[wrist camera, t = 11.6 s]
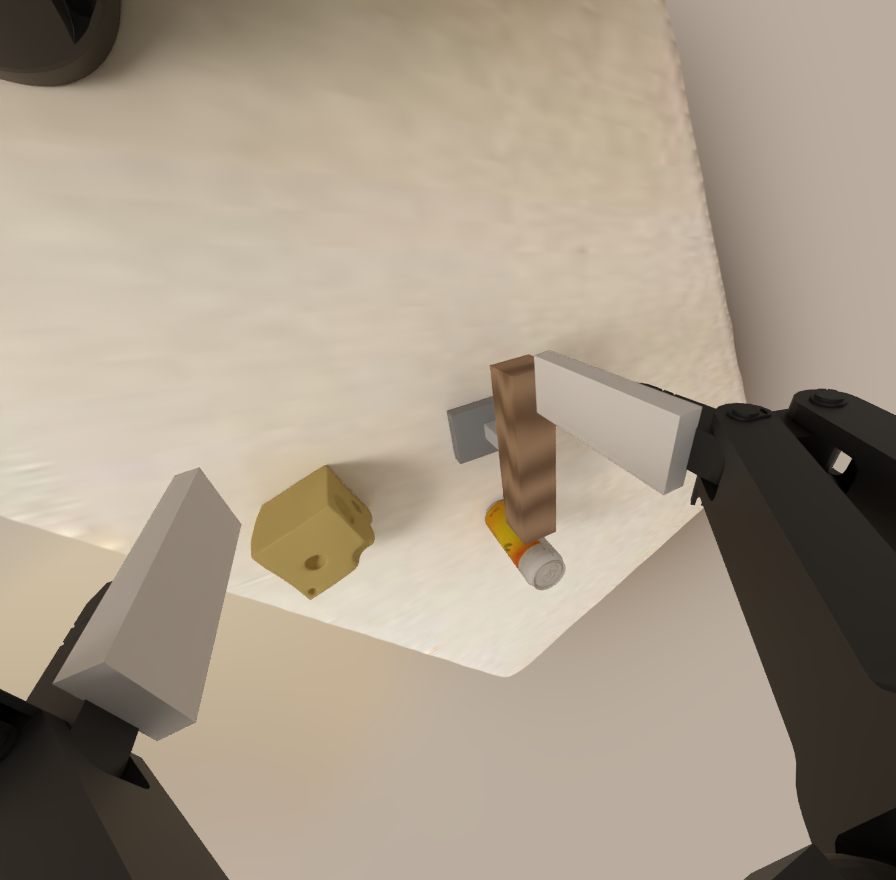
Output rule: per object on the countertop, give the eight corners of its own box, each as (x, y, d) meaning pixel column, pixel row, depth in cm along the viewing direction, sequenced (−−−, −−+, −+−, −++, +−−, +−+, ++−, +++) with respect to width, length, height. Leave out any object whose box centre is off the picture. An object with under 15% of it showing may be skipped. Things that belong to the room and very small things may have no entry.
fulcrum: (446, 410, 47) (469, 433, 40) (520, 387, 50) (553, 405, 43) (455, 457, 51) (477, 485, 44) (523, 433, 54) (554, 456, 47)
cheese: (370, 507, 50) (383, 555, 41) (307, 549, 49) (307, 606, 40) (326, 458, 44) (330, 502, 36) (254, 505, 43) (241, 560, 35)
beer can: (477, 523, 59) (523, 591, 46) (493, 494, 57) (545, 556, 45) (503, 528, 62) (553, 593, 49) (519, 501, 60) (575, 561, 48)
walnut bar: (490, 365, 38) (512, 376, 33) (528, 354, 39) (555, 364, 35) (506, 522, 49) (524, 545, 45) (535, 510, 51) (555, 531, 46)
